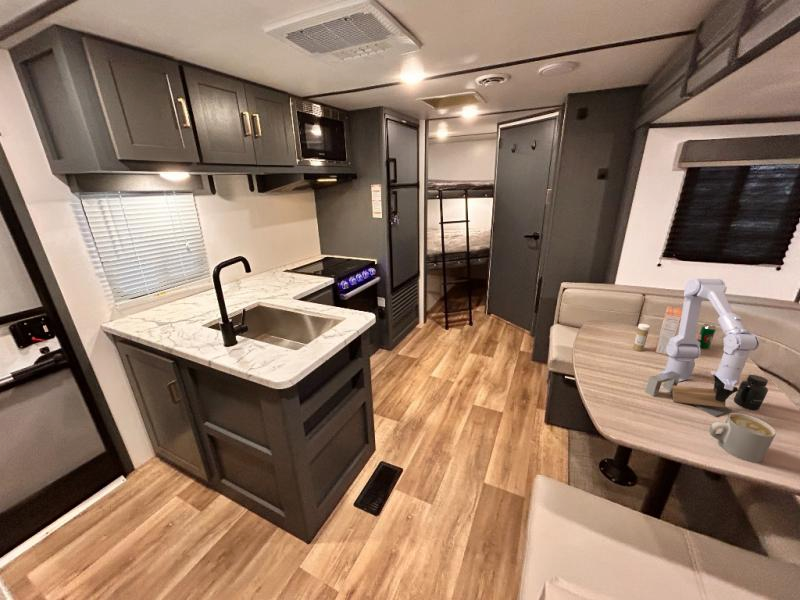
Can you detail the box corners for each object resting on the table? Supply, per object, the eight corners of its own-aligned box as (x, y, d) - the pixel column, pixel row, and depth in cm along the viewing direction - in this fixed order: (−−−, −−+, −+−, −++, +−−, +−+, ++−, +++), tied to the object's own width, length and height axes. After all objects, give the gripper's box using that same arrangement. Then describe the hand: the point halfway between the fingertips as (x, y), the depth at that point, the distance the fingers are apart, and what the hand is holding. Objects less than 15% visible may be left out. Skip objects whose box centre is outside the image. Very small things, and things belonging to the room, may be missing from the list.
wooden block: (671, 395, 123) (671, 384, 122) (721, 400, 115) (721, 388, 114) (673, 401, 119) (673, 390, 118) (725, 407, 112) (725, 395, 111)
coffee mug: (756, 445, 99) (768, 420, 96) (768, 467, 91) (782, 441, 88) (700, 429, 106) (710, 405, 103) (707, 448, 98) (717, 423, 95)
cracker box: (656, 342, 164) (667, 305, 157) (671, 345, 161) (683, 308, 153) (653, 352, 155) (665, 313, 147) (669, 356, 151) (682, 316, 144)
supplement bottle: (755, 413, 113) (768, 385, 109) (729, 402, 119) (741, 375, 114) (762, 407, 116) (775, 380, 112) (737, 397, 122) (748, 370, 117)
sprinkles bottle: (644, 349, 157) (651, 325, 152) (641, 352, 155) (648, 327, 150) (634, 346, 161) (641, 322, 156) (630, 348, 158) (637, 324, 154)
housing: (667, 385, 129) (672, 371, 127) (675, 389, 126) (680, 375, 124) (645, 391, 125) (649, 377, 123) (652, 396, 123) (657, 381, 120)
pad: (685, 387, 127) (685, 386, 127) (731, 411, 114) (732, 410, 114) (669, 392, 125) (670, 391, 125) (715, 416, 111) (715, 415, 111)
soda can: (696, 343, 162) (703, 322, 158) (709, 346, 159) (717, 325, 155) (694, 346, 159) (702, 325, 155) (708, 350, 156) (716, 328, 152)
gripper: (713, 353, 117) (702, 383, 121) (718, 369, 106) (705, 402, 111) (740, 359, 112) (727, 390, 117) (747, 377, 102) (733, 411, 106)
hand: (718, 397), depth 114 cm, fingers closed on wooden block, 5 cm apart
